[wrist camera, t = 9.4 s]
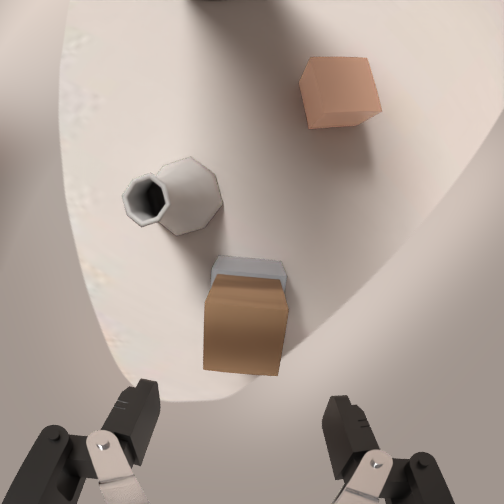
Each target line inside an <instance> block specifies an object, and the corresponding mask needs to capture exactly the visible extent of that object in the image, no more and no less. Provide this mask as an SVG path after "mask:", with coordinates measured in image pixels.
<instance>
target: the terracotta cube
mask: <svg viewBox="0 0 504 504" xmlns="http://www.w3.org/2000/svg"><path fill="white" fill-rule="evenodd" d="M299 86H300V91H301V95H302V99H303V104H304V108H305V113H306V118H307V123H308V128H309V129H316V128H328V127H343V126H357V125H359V124H361V123H362V122H364V121H366V120H368V119H369V118H371V117H373V116H375V115H377V114H378V113H380V112H382V109H381V105H380V101H379V97H378V93H377V89H376V86H375V82H374V79H373V75H372V72H371V69H370V65H369V62H368V59H367V58H359V57H310V59H309V61H308V63H307V65H306V68H305V70H304V72H303V74H302V76H301V79H300V81H299Z"/></svg>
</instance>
